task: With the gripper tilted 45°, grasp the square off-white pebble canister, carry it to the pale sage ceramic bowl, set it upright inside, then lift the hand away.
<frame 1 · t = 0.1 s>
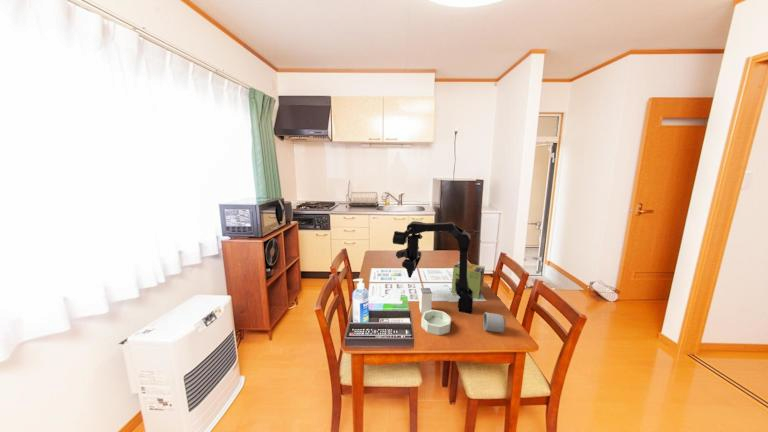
hand: (411, 274, 140), 15 cm above the table, tool pointing down, fingers open, 9 cm apart
ceramic mug: (491, 328, 119), on the table
pebble canister: (425, 310, 132), on the table
sage bowl: (435, 325, 120), on the table
protein box: (467, 292, 152), on the table
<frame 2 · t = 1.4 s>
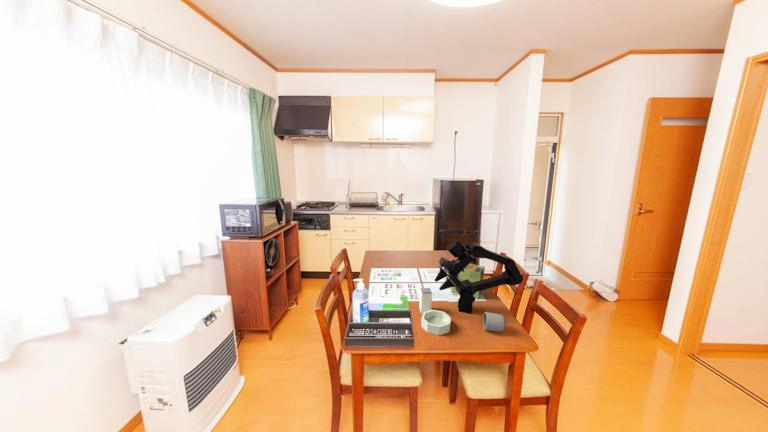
hand: (437, 285, 130), 13 cm above the table, tool tilted 45°, fingers open, 9 cm apart
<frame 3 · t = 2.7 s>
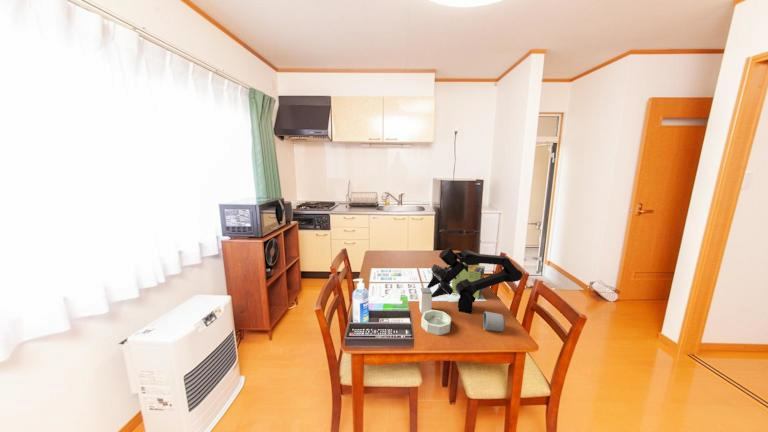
hand: (429, 292, 130), 10 cm above the table, tool tilted 45°, fingers open, 9 cm apart
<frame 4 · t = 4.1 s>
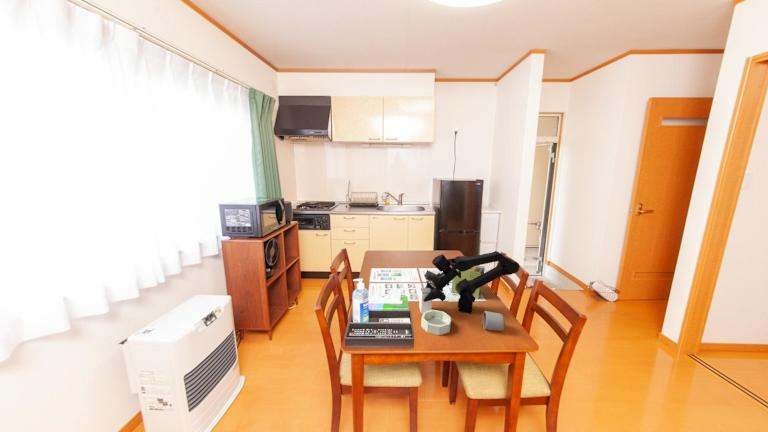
hand: (422, 298, 131), 7 cm above the table, tool tilted 45°, fingers closed on pebble canister, 5 cm apart
pebble canister: (425, 310, 132), on the table, touching gripper
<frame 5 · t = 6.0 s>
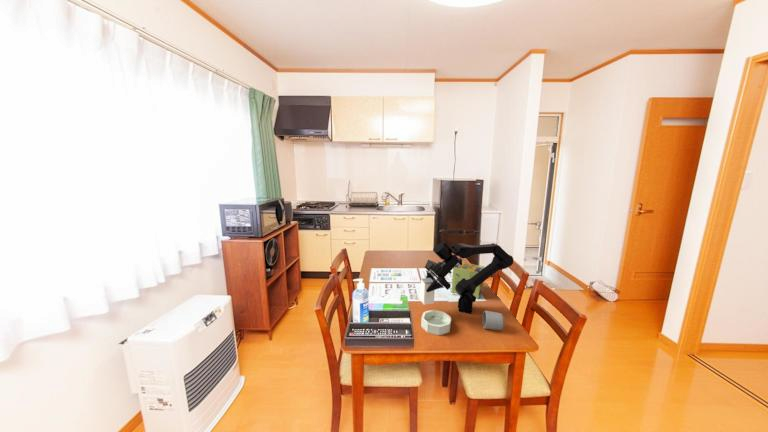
hand: (424, 289, 126), 14 cm above the table, tool tilted 45°, fingers closed on pebble canister, 5 cm apart
pebble canister: (426, 301, 127), point 7 cm above the table, touching gripper
when the fingers open (9 cm above the table, at t = 8.2 s): pebble canister drops 1 cm, resting on sage bowl.
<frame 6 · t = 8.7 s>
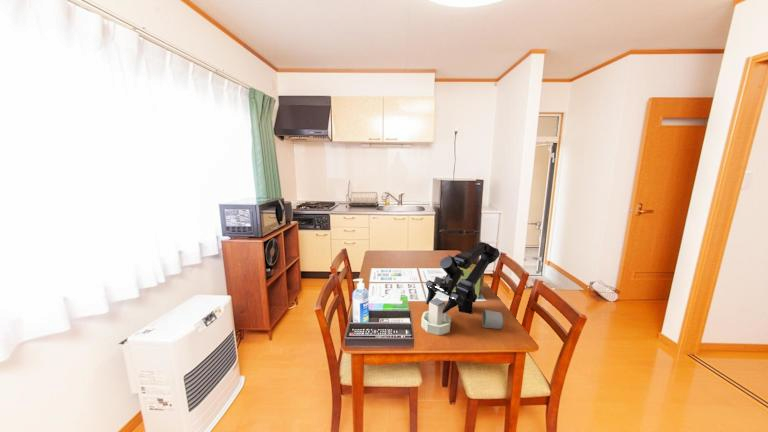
hand: (434, 308, 117), 9 cm above the table, tool tilted 45°, fingers open, 9 cm apart
pebble canister: (436, 323, 120), point 1 cm above the table, touching sage bowl
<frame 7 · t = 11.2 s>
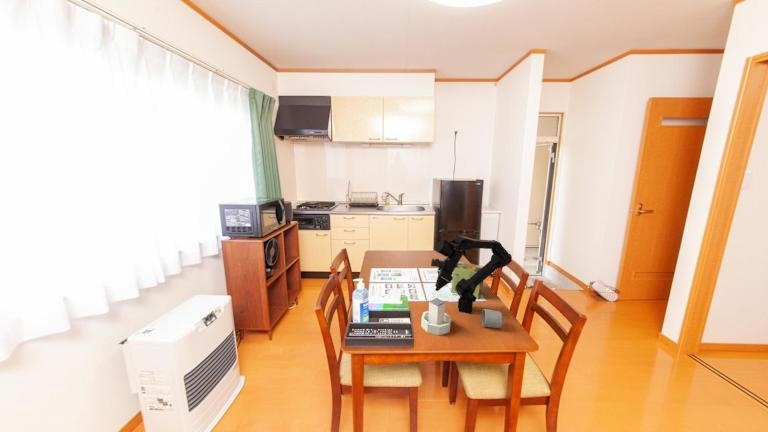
hand: (436, 288, 126), 14 cm above the table, tool tilted 30°, fingers open, 9 cm apart
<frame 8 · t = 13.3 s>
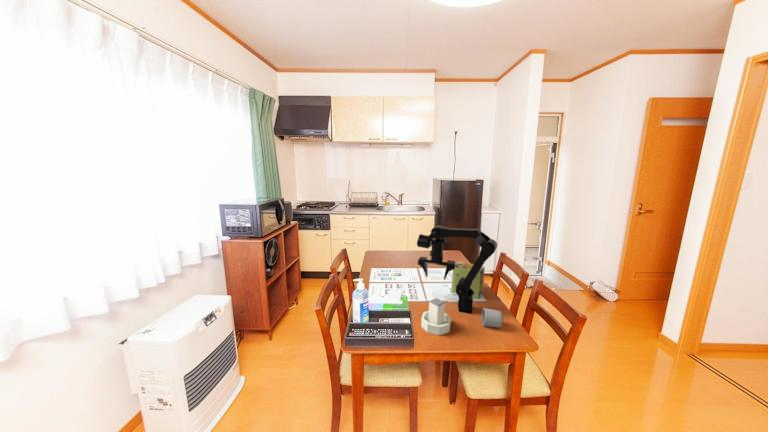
hand: (435, 278, 139), 13 cm above the table, tool pointing down, fingers open, 9 cm apart
at the end: pebble canister 0.0 cm off-centre on the sage bowl, point 1.0 cm above the sage bowl's base; pebble canister tilted 0°; the gripper is holding nothing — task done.
